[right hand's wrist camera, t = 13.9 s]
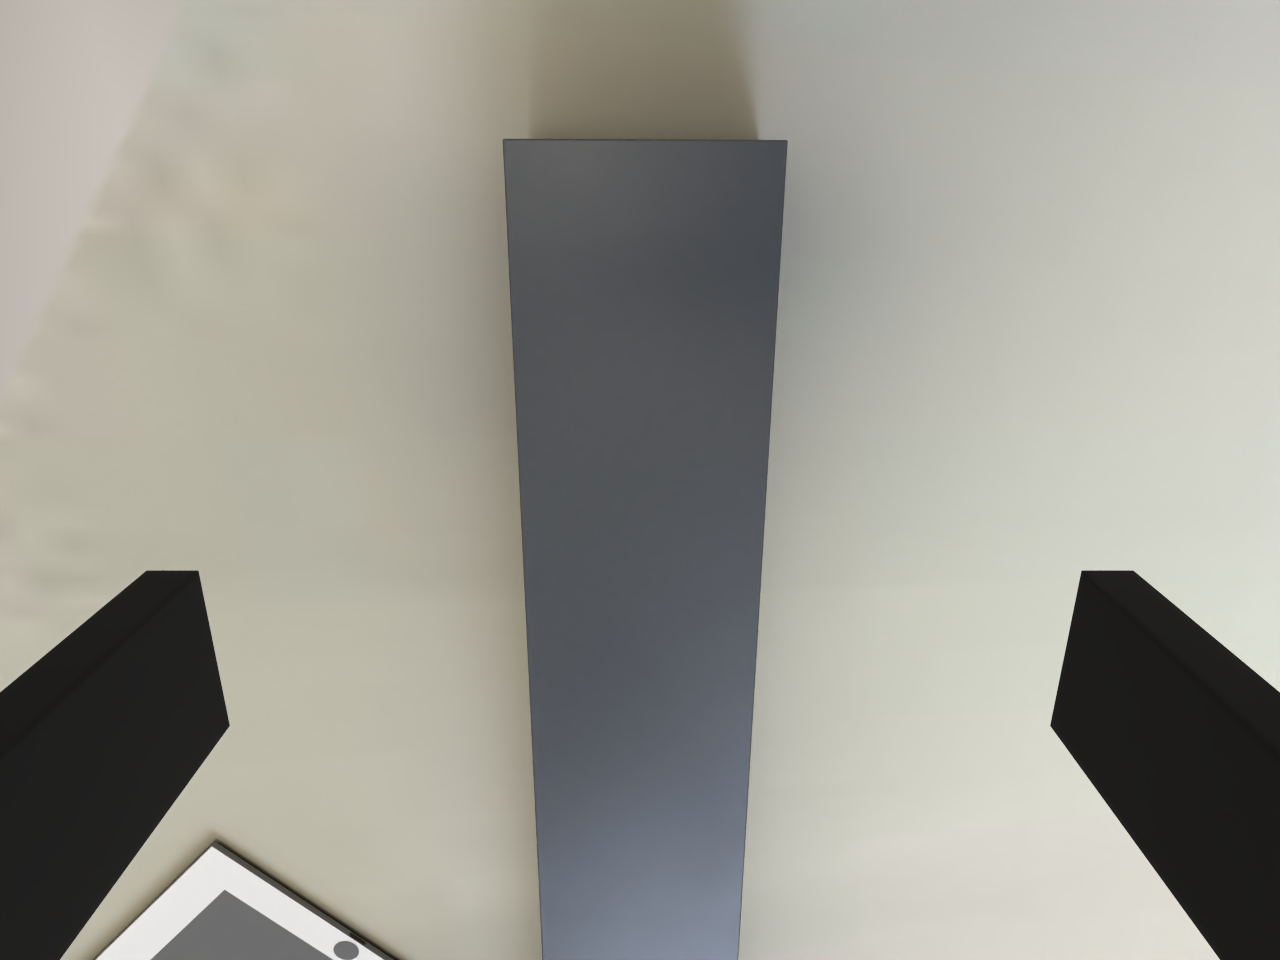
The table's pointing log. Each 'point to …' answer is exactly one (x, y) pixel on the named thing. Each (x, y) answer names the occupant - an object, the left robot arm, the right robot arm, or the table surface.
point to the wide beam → (642, 524)
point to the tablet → (234, 920)
